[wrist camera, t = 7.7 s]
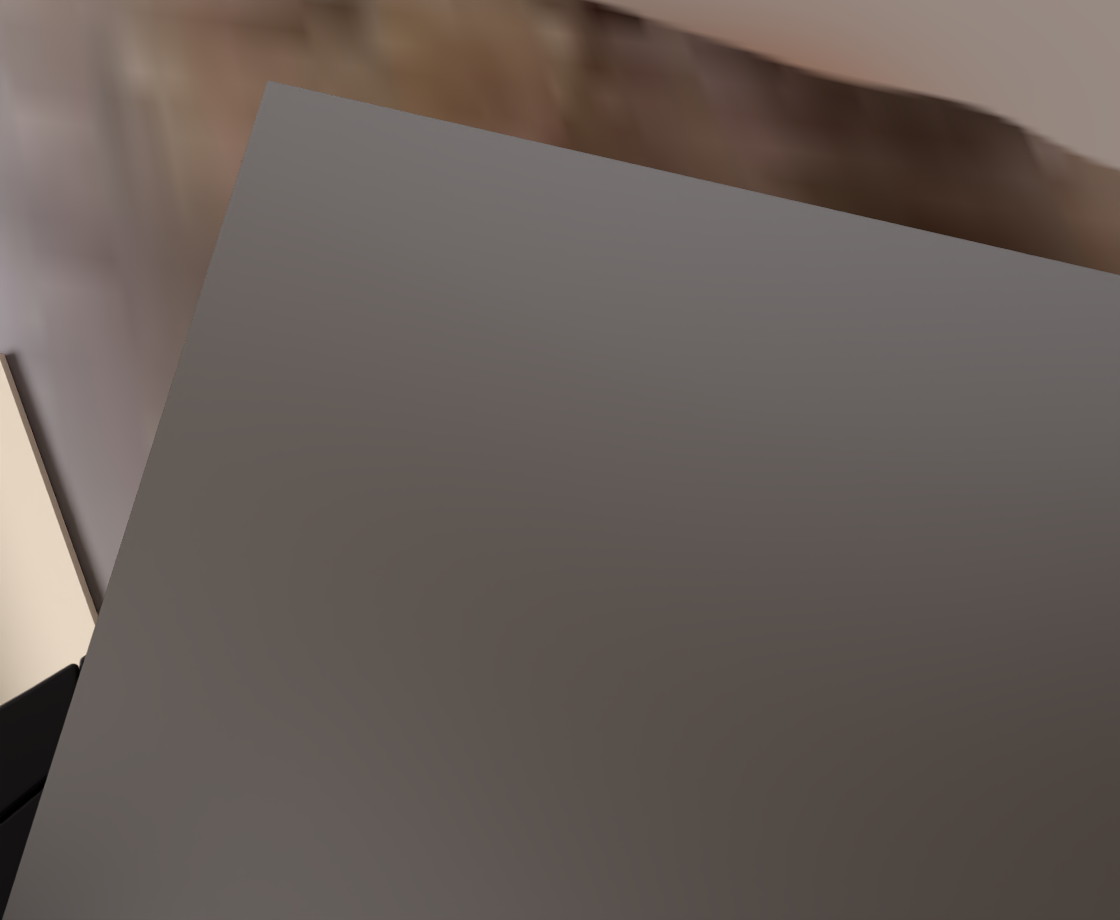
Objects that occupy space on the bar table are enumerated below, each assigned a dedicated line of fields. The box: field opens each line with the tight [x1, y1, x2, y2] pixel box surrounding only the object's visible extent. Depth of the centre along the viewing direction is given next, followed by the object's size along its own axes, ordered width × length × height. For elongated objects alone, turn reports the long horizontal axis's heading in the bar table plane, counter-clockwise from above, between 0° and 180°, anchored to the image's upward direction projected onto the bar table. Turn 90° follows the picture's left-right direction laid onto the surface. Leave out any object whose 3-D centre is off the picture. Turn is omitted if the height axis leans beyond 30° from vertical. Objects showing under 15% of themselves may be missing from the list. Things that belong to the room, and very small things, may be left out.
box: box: [2, 81, 1120, 920], centre depth 9 cm, size 5×5×12 cm
